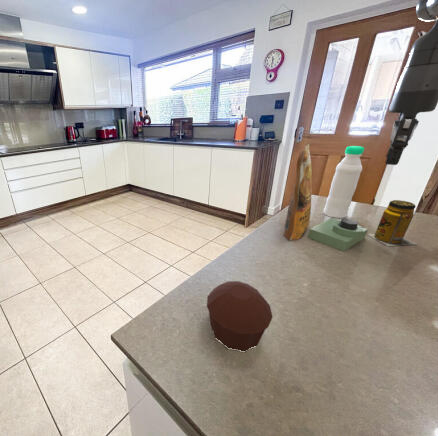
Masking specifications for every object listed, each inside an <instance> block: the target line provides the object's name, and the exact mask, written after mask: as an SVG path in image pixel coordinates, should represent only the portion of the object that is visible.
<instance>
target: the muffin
mask: <svg viewBox="0 0 438 436" xmlns="http://www.w3.org/2000/svg"><path fill="white" fill-rule="evenodd" d="M206 308H207V310H208V315H209V321H210V322H209V323H210V328H211V327H212V328H211V330H212V329H213V330H212V332H213V331H214V332H213V335H215V336H214V339H215V338H217V339H218V340H220V341H221V342H222V343H223V344H224V345H226V346H227V347H228V348H232V349H238V350H241V351H246V350H248V349H249V348H251V347H254V346H257V347H258V345H259V343H260V341H261V339H262V337H263V335H264V333H265V331H266V329H268V328H269V326H270V325H271V322H272V320H273V317H274V316H273V312H272V309H271V305H270V304H269V302H268V301H267V300H266V298H264V296H263V295H262V293H261V292H260V291H259V290H258V289H257V288H255V287H254V286H252V285H250V284H249V283H247V282H242V281H238V280H231V281H230V280H229V281H226V282H222V283H221V284H219V285H217V286H215V287H214V288H213V289H212V291H210V293H209V294H208V295H207V298H206ZM223 344H222V345H223ZM224 345H223V346H224ZM248 351H249V350H248ZM246 352H247V351H246Z"/></svg>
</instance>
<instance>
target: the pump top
mask: <svg viewBox="0 0 438 436" xmlns="http://www.w3.org/2000/svg"><path fill="white" fill-rule="evenodd" d="M340 221H341V222H340V225H339V226H340V227H342V228H344V229H349V230H356V228H357V226H358V225H359V221H357V220H355V219H352V218H340Z"/></svg>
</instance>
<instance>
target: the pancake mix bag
mask: <svg viewBox="0 0 438 436" xmlns="http://www.w3.org/2000/svg"><path fill="white" fill-rule="evenodd" d="M310 145H311V143H310V142H309V143H307V144H306V145H305V146H304V147H303V148H302V149H301V151H300V152H298V153H299V154H298V158H297V162H296V173H295V174H296V175H295V183H294V185H293V189H292V193H291V196H290V199H289V203H288V207H287V213H286V218H285V222H284V223H285V224H284V232H283V237H284V238H285V239H286V240H287V241H289V242H291V241H292V240H297V241H298V240H299V239H301V238H302V236H303V234H304V233H305V231H306V230H307V228H308V227H309V225H310V221H311V214H312V213H311V212H312V185H313V180H312V176H313V171H312V170H313V168H312V160H311V159H312V158H311V153H310Z"/></svg>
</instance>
